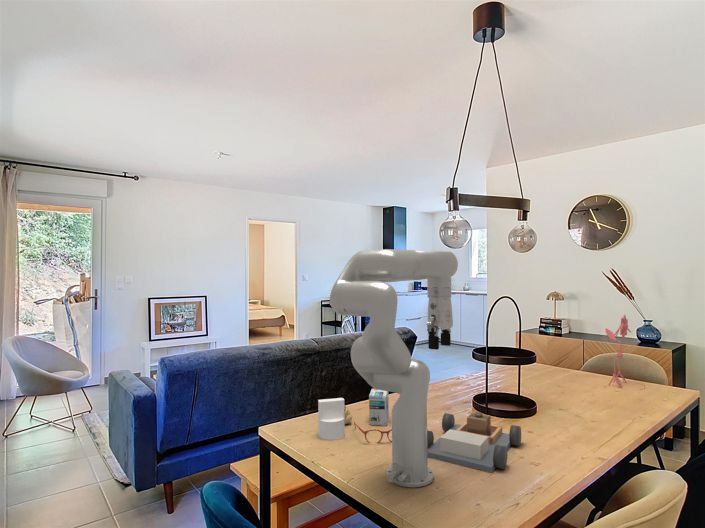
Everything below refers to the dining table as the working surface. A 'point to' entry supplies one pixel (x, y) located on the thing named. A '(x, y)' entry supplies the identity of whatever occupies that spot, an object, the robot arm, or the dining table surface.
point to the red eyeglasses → (374, 430)
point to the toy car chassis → (472, 445)
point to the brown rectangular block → (479, 424)
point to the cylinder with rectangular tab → (331, 418)
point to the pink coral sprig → (623, 332)
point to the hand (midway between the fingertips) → (439, 347)
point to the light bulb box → (378, 407)
